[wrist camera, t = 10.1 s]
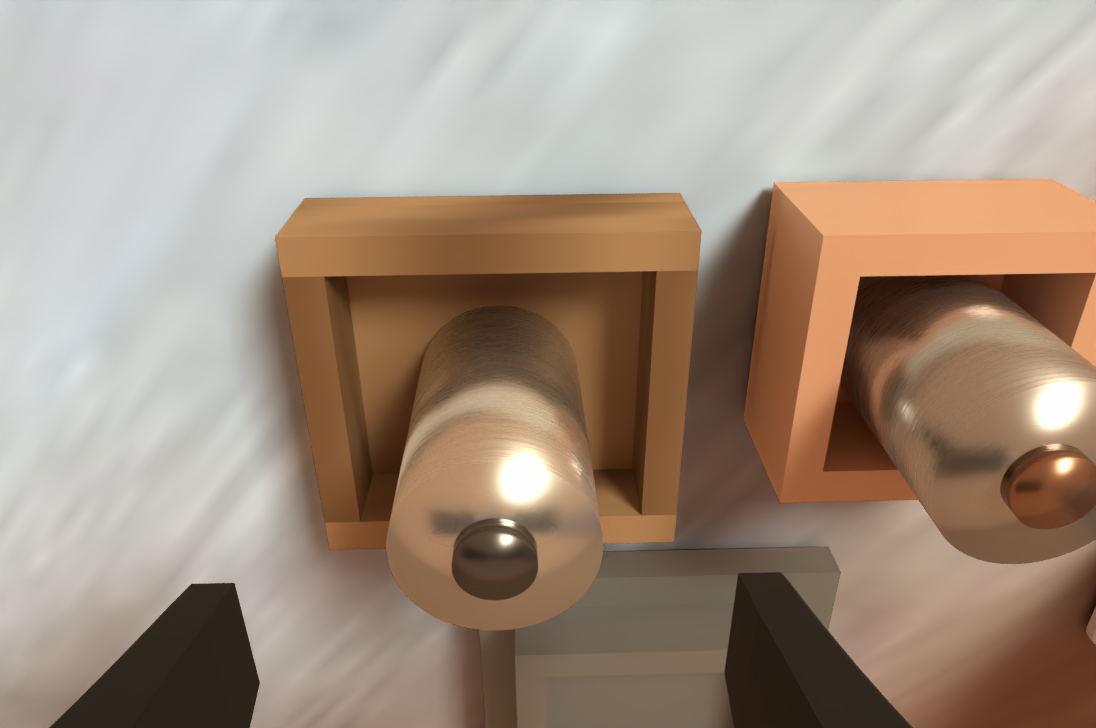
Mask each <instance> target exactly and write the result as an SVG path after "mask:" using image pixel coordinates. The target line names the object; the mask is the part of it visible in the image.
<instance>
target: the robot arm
mask: <svg viewBox="0 0 1096 728" xmlns="http://www.w3.org/2000/svg"><path fill="white" fill-rule="evenodd" d="M1086 633H1087V635H1088V636H1089V638H1090V639H1091V640H1092V642H1093V643H1094V644H1096V607H1095V609H1094V612H1093V614H1092V616H1091V619H1090V621H1089V623H1088V626H1087V629H1086ZM724 674H725V679H726V685H727V691H728V696H729V702H730V708H731V713H732V718H733V724H734V728H913V727H912V726H911V725H910V724H909V723H908V722H907V721H906V720H905V719H904V718H903V717H902V716H901V715H900V713H899V712H898V711H897V710H896V709H895V708H894V707H893V706H892V705H891V704H890V703H889V702H888V700H887V699H886V698H885V697H884V696H883V695H882V694H881V692H880V691H879V690H878V689H877V688H876V687H875V686H874V684H873V683H872V682H871V681H870V680H869V679H868V678H867V676H866V675H865V674H864V673H863V672H862V671H861V670H860V669H859V667H858V666H857V665H856V664H855V663H854V662H853V660H852V659H851V658H850V657H849V656H848V654H847V653H846V652H845V651H844V650H843V648H842V647H841V646H840V645H839V644H838V642H837V641H836V640H835V639H834V637H833V636H832V635H831V634H830V633H829V631H828V630H827V629H826V628H825V626H824V625H823V624H822V623H821V621H820V620H819V619H818V618H817V616H816V615H815V614H814V613H813V611H812V610H811V609H810V608H809V606H808V605H807V604H806V602H805V601H804V600H803V599H802V597H801V596H800V595H799V593H798V592H797V591H796V590H795V588H794V587H793V586H792V584H791V583H790V582H789V580H788V579H787V578H786V577H785V576H784V575H783V574H782V573H781V572H765V573H738V578H737V585H736V593H735V600H734V607H733V614H732V621H731V628H730V636H729V643H728V650H727V657H726V664H725V671H724ZM259 684H260V682H259V678H258V674H257V670H256V667H255V663H254V659H253V655H252V651H251V647H250V643H249V639H248V635H247V631H246V627H245V623H244V619H243V615H242V611H241V607H240V603H239V599H238V595H237V591H236V587H235V583H215V584H191V585H190V586H189V587H188V588H187V589H186V590H185V591H184V592H183V593H182V594H181V595H180V596H179V597H178V598H177V599H176V600H175V601H174V602H173V603H172V604H171V605H170V606H169V607H168V608H167V609H166V610H165V611H164V612H163V613H162V614H161V616H160V617H159V618H158V619H157V620H156V621H155V622H154V623H153V624H152V625H151V626H150V627H149V628H148V629H147V630H146V631H145V632H144V633H143V634H142V635H141V636H140V637H139V638H138V640H137V641H136V642H135V643H134V644H133V645H132V646H131V647H130V648H129V649H128V650H127V651H126V652H125V653H124V654H123V655H122V656H121V657H120V658H119V659H118V660H117V661H116V662H115V663H114V664H113V665H112V666H111V667H110V668H109V669H108V670H107V671H106V672H105V673H104V674H103V675H102V676H101V677H100V678H99V679H98V680H97V681H96V682H95V683H94V684H93V685H92V686H91V687H90V688H89V689H88V690H87V691H86V692H85V693H84V694H83V695H82V696H81V697H80V698H79V699H78V700H77V701H76V702H75V703H74V704H73V705H72V706H71V707H70V708H69V709H68V710H67V711H66V712H65V713H64V714H63V715H62V716H61V717H60V718H59V719H58V720H57V721H56V722H55V723H54V724H53V725H52V726H50V727H49V728H249V727H250V723H251V719H252V715H253V710H254V706H255V701H256V697H257V693H258V688H259Z"/></svg>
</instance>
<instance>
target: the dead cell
mask: <svg viewBox="0 0 1096 728" xmlns="http://www.w3.org/2000/svg"><path fill="white" fill-rule="evenodd" d="M840 384H841V386H842V387H843V389H844V390H845V392H846V393H847V395H848V396H849V398H850V399H851V401H852V402H853V404H854V405H855V406H856V408H857V409H858V411H859V412H860V414H861V415H862V417H863V418H864V420H865V421H866V423H867V424H868V426H869V427H870V429H871V430H872V432H873V433H874V435H875V436H876V438H877V439H878V441H879V442H880V443H881V445H882V446H883V448H884V449H885V451H886V452H887V454H888V455H889V457H890V458H891V460H892V461H893V463H894V464H895V466H896V467H897V469H898V470H899V472H900V473H901V475H902V476H903V477H904V479H905V480H906V482H907V483H908V485H909V486H910V488H911V489H912V491H913V492H914V494H915V495H916V497H917V498H918V500H919V501H920V503H921V504H922V506H923V507H924V509H925V510H926V512H927V513H928V514H929V516H930V517H931V519H932V520H933V522H934V523H935V525H936V526H937V528H938V529H939V531H940V532H941V534H942V535H943V536H944V537H945V539H946V540H947V541H948V542H949V543H950V544H951V545H953V546H954V547H955V548H956V549H958V550H959V551H961V552H963V553H965V554H966V555H969V556H971V557H974V558H976V559H979V560H983V561H987V562H993V563H1000V564H1022V563H1032V562H1038V561H1043V560H1047V559H1051V558H1055V557H1058V556H1061V555H1064V554H1066V553H1069V552H1072V551H1074V550H1076V549H1078V548H1081V547H1083V546H1085V545H1087V544H1088V543H1090V542H1092V541H1094V540H1096V367H1095V366H1094V365H1093V364H1091V363H1090V362H1089V361H1088V360H1086V359H1085V358H1084V357H1083V356H1081V355H1080V354H1079V353H1078V352H1076V351H1075V350H1074V349H1073V348H1071V347H1070V346H1069V345H1067V344H1066V343H1065V342H1064V341H1062V340H1061V339H1060V338H1059V337H1057V336H1056V335H1055V334H1054V333H1052V332H1051V331H1050V330H1048V329H1047V328H1046V327H1045V326H1043V325H1042V324H1041V323H1040V322H1038V321H1037V320H1036V319H1035V318H1033V317H1032V316H1031V315H1030V314H1028V313H1027V312H1026V311H1024V310H1023V309H1022V308H1021V307H1019V306H1018V305H1017V304H1016V303H1014V302H1013V301H1012V300H1011V299H1009V298H1008V297H1007V296H1005V295H1004V294H1003V293H1002V292H1000V291H999V290H998V289H997V288H995V287H994V286H993V285H992V284H990V283H989V282H988V281H987V280H985V279H984V278H983V277H981V276H980V275H925V276H864V277H860V280H859V285H858V290H857V295H856V301H855V306H854V311H853V316H852V321H851V327H850V332H849V337H848V342H847V348H846V353H845V358H844V363H843V369H842V374H841V379H840Z"/></svg>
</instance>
